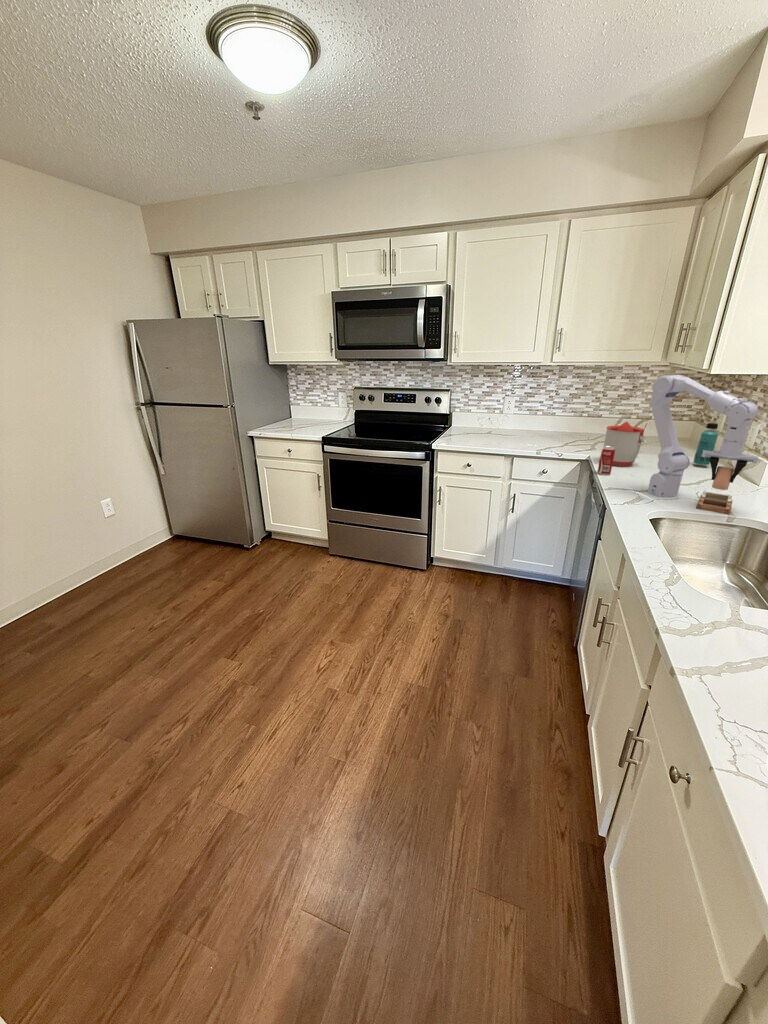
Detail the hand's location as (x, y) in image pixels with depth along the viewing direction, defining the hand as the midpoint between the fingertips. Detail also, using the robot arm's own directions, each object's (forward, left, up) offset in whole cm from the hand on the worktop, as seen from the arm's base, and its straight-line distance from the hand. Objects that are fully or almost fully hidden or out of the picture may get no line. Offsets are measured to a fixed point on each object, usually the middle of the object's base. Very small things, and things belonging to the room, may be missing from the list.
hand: (722, 480), depth 142 cm
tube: (0, 0, -3) cm, 3 cm away
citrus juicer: (+8, +60, -11) cm, 61 cm away
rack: (+3, +3, -10) cm, 11 cm away
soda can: (-10, +46, -11) cm, 48 cm away
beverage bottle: (+42, +50, -11) cm, 66 cm away
